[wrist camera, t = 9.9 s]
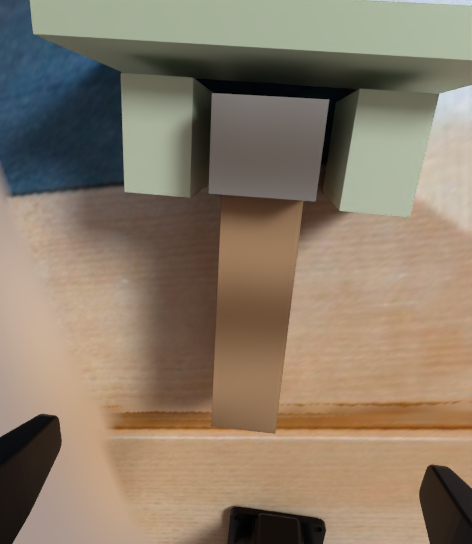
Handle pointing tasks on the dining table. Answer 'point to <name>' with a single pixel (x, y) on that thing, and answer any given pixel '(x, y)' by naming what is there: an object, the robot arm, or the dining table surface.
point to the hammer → (258, 243)
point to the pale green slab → (274, 80)
